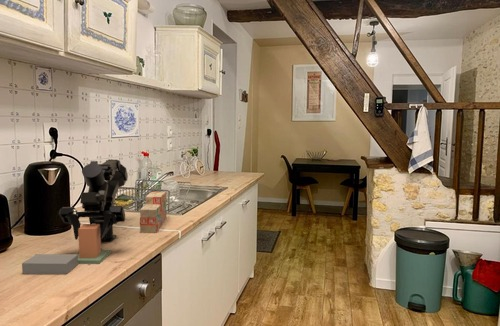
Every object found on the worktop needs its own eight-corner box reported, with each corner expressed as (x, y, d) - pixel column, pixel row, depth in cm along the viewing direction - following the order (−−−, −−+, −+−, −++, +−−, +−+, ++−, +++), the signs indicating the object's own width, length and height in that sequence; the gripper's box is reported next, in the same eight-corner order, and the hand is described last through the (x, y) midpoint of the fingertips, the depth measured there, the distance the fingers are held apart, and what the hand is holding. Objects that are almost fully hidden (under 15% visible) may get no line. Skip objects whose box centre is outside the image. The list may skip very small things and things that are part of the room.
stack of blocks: (156, 233, 137) (156, 201, 135) (139, 233, 136) (139, 201, 135) (166, 218, 158) (166, 191, 157) (152, 218, 158) (151, 191, 156)
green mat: (82, 252, 115) (82, 249, 115) (110, 252, 115) (110, 249, 115) (68, 263, 106) (68, 260, 106) (99, 263, 106) (99, 260, 106)
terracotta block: (84, 252, 113) (83, 224, 112) (101, 251, 113) (100, 223, 112) (79, 258, 108) (78, 229, 107) (96, 257, 108) (96, 228, 107)
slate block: (36, 264, 105) (36, 254, 105) (78, 264, 106) (77, 254, 105) (22, 273, 98) (21, 263, 98) (66, 274, 99) (66, 263, 98)
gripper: (59, 181, 110) (47, 226, 101) (122, 181, 113) (116, 224, 104) (69, 201, 119) (58, 244, 109) (127, 200, 122) (122, 242, 112)
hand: (88, 238), depth 109 cm, fingers open, 7 cm apart
